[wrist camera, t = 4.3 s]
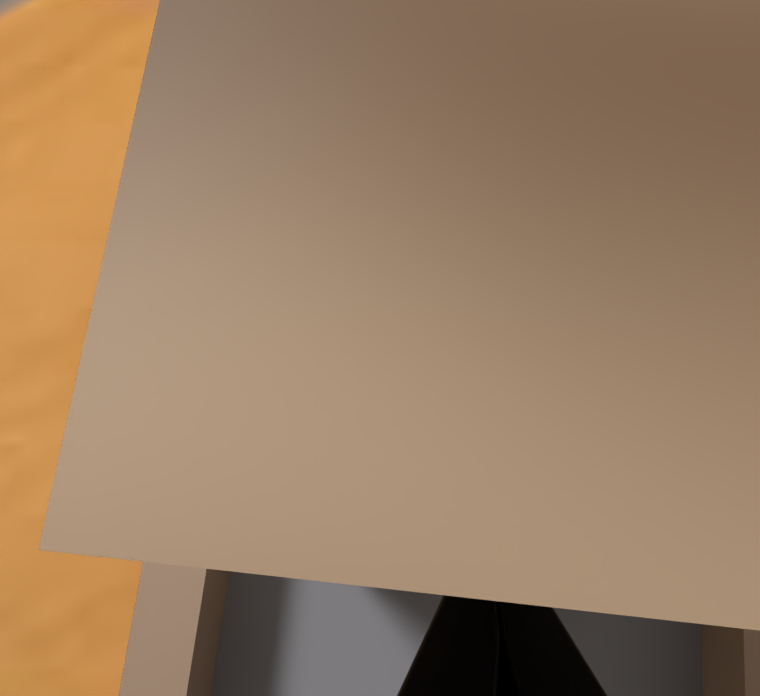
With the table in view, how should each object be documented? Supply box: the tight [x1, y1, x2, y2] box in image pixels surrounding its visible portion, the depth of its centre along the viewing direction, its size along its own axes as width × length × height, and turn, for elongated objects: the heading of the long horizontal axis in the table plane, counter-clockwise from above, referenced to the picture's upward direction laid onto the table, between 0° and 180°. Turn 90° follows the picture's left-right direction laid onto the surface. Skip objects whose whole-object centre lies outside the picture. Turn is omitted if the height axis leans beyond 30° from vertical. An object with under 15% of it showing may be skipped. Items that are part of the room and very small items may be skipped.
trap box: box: [118, 562, 760, 696], centre depth 14 cm, size 21×12×5 cm, turn 174°
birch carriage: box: [38, 0, 760, 631], centre depth 9 cm, size 5×6×11 cm
